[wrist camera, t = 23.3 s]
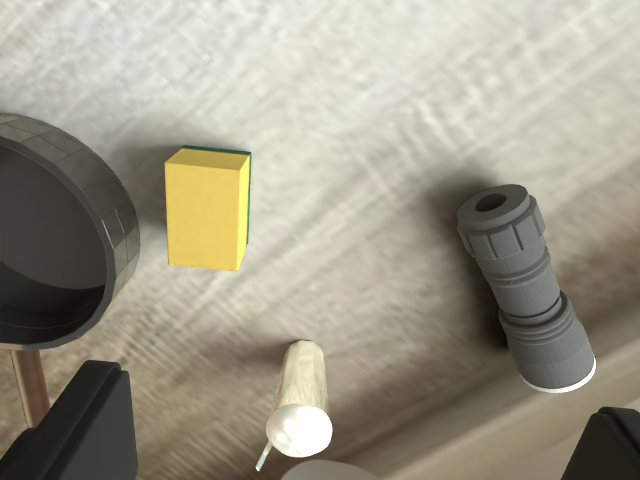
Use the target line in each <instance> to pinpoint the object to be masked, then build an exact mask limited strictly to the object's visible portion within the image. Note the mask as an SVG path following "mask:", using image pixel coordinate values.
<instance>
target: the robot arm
mask: <svg viewBox="0 0 640 480" xmlns="http://www.w3.org/2000/svg"><path fill="white" fill-rule="evenodd" d="M137 468H138V461H137V451H136V441H135V430H134V420H133V410H132V399H131V389H130V379H129V373H128V371H121V367H120V364H119V363H117V362H107V361H96V360H88V361H86V362H85V363H84V364H83V365H82V366H81V367H80V369H79V370H78V372H77V373H76V374H75V376H74V377H73V378H72V380H71V381H70V382H69V384H68V385H67V387H66V388H65V389H64V391H63V392H62V393H61V395H60V396H59V398H58V399H57V400H56V402H55V403H54V404H53V406H52V407H51V408H50V410H49V411H48V413H47V414H46V415H45V417H44V418H43V419H42V421H41V422H40V424H39V425H38V426H37V427H30V428H28V429H27V430H25V431H23V432H22V433H21V435H20V436H19V437H18V438H17V439H16V440H15V441H14V443H13V444H12V445H11V447H10V448H9V449H8V451H7V452H6V453H5V455H4V456H3V457H2V459H1V460H0V480H135V479H136V475H137ZM561 480H640V413H639V412H638V411H636V410H634V409H626V408H615V407H602V408H600V409H599V411H598V412H597V413H594V414H593V415H591V417H590V419H589V421H588V423H587V425H586V427H585V429H584V431H583V433H582V436H581V438H580V440H579V442H578V444H577V446H576V449H575V451H574V453H573V455H572V457H571V459H570V461H569V463H568V465H567V468H566V470H565V472H564V474H563V476H562V478H561Z"/></svg>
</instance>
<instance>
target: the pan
mask: <svg viewBox="0 0 640 480" xmlns="http://www.w3.org/2000/svg"><path fill="white" fill-rule="evenodd" d="M139 252H140V232H139V225H138V220H137V217H136V213H135V210H134V207H133V205H132V202H131V200H130V198H129V196H128V194H127V192H126V190H125V189H124V187H123V185H122V183H121V182H120V181H119V179H118V178H117V176H116V175H115V174H114V172H113V171H112V170H111V169H110V168H109V167H108V165H107V164H106V163H105V162H104V161H103V160H102V159H101V158H100V157H99V156H98V155H97V154H96V153H94V152H93V151H92V150H91V149H90V148H89V147H87V146H86V145H85V144H83V143H82V142H80V141H79V140H77V139H76V138H75V137H73V136H71V135H69V134H68V133H66V132H64V131H62V130H60V129H58V128H56V127H54V126H51V125H49V124H47V123H44V122H41V121H38V120H34V119H31V118H28V117H22V116H16V115H9V114H0V349H11V350H22V351H32V350H40V349H48V348H55V347H58V346H61V345H63V344H66V343H68V342H71V341H73V340H76V339H78V338H80V337H81V336H83V335H84V334H85V333H86V332H88V331H89V330H90V329H91V328H92V327H94V326H95V325H96V324H97V323H98V322H99V321H100V320H101V319H102V317H103V316H104V315H105V314H106V312H107V311H108V310H109V308H110V307H111V306H112V305H113V303H114V302H115V301H116V300H117V298H118V297H119V296H120V294H121V293H122V291H123V290H124V288H125V287H126V285H127V284H128V282H129V281H130V279H131V277H132V275H133V273H134V271H135V269H136V265H137V262H138V258H139Z"/></svg>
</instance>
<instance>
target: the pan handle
mask: <svg viewBox="0 0 640 480" xmlns="http://www.w3.org/2000/svg"><path fill="white" fill-rule="evenodd" d="M10 354H11V358H12V362H13V367H14V371H15V375H16V380H17V384H18V388H19V393H20V397H21V401H22V406H23V410H24V414H25V419H26V423H27V427H28V428H30V427H37V426H38V425H39V424H40V422H41V421H42V419H43V418H44V417H45V415H46V414H47V413H48V411H49V410H50V404H49V399H48V394H47V389H46V383H45V378H44V373H43V368H42V363H41V358H40V353H39V350H32V351H22V350H11V349H10Z"/></svg>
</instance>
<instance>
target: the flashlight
mask: <svg viewBox="0 0 640 480" xmlns="http://www.w3.org/2000/svg"><path fill="white" fill-rule="evenodd" d="M457 218H458V223H457V226H458V227H457V230H458V232H459V234H460V237H461V239H462V241H463V243H464V246H465V248H466V250H467V252H468V253H469V254H470V255H471V256H473V257H475V259H476V261H477V263H478V265H479V266H480V269H481V271H482V272H483V275H484V278H485V279H486V280H487V281H488V282H489V284H490V286H491V288H492V291H493V293H494V295H495V297H496V300H497V302H498V304H499V306H500V309H499V320H500V322H501V324H502V327H503V329H504V332H505V333H506V335H507V340H508V347H509V350H510V353H511V355H512V357H513V359H514V361H515V364H516V366H517V368H518V370H519V373H520V375H521V377H522V379H523V380H524V381H525V382H526V383H527V384H528V385H529V386H530V387H532V388H534V389H536V390H539V391H543V392H549V393H562V392H567V391H571V390H574V389H576V388H578V387H580V386H582V385H584V384H585V383H586V382H587V381H588V380H589V379H590V378H591V377H592V375H593V374H594V371H595V368H596V361H595V358H594V355H593V352H592V349H591V346H590V344H589V341H588V338H587V335H586V332H585V330H584V327H583V326H582V324H581V323H580V322H579V321H578V319H577V318H576V317H575V312H574V310H573V307H572V304H571V301H570V299H569V297H568V296H567V295H566V294H565V293H564V292H563V291H561V290H560V289H559V286H558V283H557V280H556V278H555V275H554V272H553V269H552V267H551V264H550V261H551V257H550V254H549V252H548V249H547V246H546V245H545V239H544V236H543V232H544V229H545V224H544V221H543V218H542V215H541V213H540V210H539V207H538V204H537V201H536V199H535V198H534V197H533V196H531V195H529V194H528V192H527V190H526V188H524V187H523V186H520V185H515V184H508V185H501V186H496V187H492V188H489V189H486V190H484V191H482V192H480V193H477V194H476V195H474V196H472V197H470V198H469V199H468V200H466V201H465V202H464V203H463V204H462V205H461V206H460V207H459V209H458V211H457Z"/></svg>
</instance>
